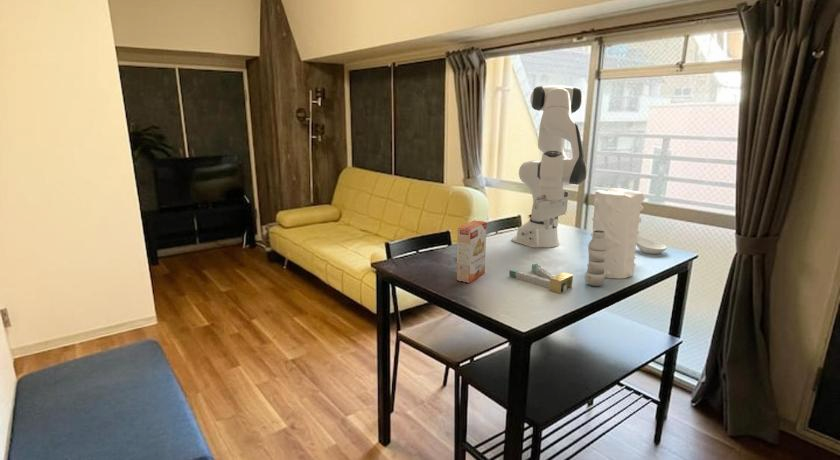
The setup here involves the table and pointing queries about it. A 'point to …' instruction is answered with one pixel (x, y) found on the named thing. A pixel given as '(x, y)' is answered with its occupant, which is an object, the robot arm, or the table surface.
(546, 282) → the green-tipped wooden stick
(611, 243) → the white bumpy sculpture
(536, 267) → the tong arm
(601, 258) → the plastic bottle
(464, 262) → the cracker box
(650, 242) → the spoon rest
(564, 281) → the lock collar
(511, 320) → the table surface
